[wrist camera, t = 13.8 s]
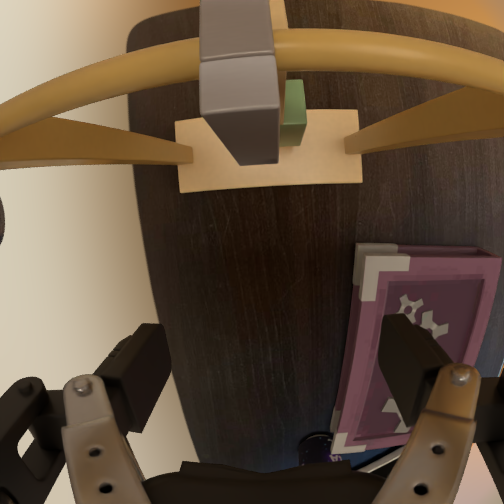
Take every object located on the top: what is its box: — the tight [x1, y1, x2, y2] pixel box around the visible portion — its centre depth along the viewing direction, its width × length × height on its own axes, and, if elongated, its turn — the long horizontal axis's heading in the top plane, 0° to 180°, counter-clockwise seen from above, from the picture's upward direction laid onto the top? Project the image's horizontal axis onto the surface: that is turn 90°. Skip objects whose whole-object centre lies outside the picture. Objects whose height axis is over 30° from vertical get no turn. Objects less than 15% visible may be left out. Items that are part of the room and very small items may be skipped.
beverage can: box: [298, 435, 341, 466], centre depth 32 cm, size 6×6×12 cm
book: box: [330, 243, 502, 454], centre depth 31 cm, size 25×16×5 cm, turn 0°
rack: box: [0, 29, 504, 193], centre depth 16 cm, size 7×17×25 cm, turn 94°
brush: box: [199, 0, 307, 166], centre depth 13 cm, size 20×5×7 cm
